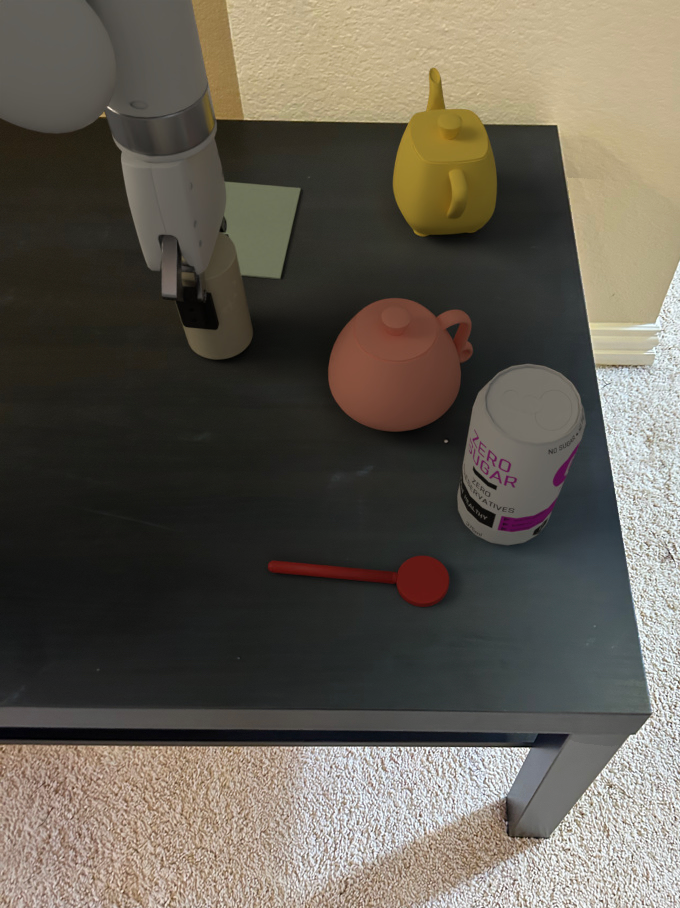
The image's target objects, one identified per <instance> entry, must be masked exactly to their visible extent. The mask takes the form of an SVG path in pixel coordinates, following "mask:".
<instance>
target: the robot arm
mask: <svg viewBox="0 0 680 908" xmlns="http://www.w3.org/2000/svg"><path fill="white" fill-rule="evenodd" d="M199 35H200V34H199V30H198V24H197V21H196V15H195V9H194V5H193V1H192V0H0V119H1V120H3V121H5V122H8V123H9V124H12V125H14V126H17V127H20V128H23V129H25V130H30V131H34V132H38V133H43V134H54V135H56V134H57V135H59V134H67V133H72V132H76V131H79V130H82V129H84V128H86V127H88V126H89V125H91V124H93V123H95V122H96V121H97V120H98V119H99V118H100V117H101V116H102V115H103V114H104V115H105V118H106V121H107V124H108V127H109V130H110V132H111V133H110V134H111V135H112V139H113V142H114V143H115V146H116V147H117V148H118V149H119V150H120V151H121V155H120V162H121V169H122V175H123V181H124V188H125V192H126V196H127V201H128V206H129V209H130V212H131V216H132V220H133V225H134V227H135V232H136V235H137V238H138V242H139V245H140V248H141V251H142V255H143V258H144V260H145V263H146V266H147V265H148V267H149V268H148V269H149V270H150V271H152V272H161V298H162V300H167V301H174V303H175V302H176V303H175V306H176V305H177V306H176V309H177V308H178V309H177V312H178V311H179V312H178V315H179V314H180V315H179V318H180V317H181V319H180V321H181V320H182V322H181V324H182V323H183V325H184V326H185V327H188V328H198V329H209V330H217V329H218V326H219V321H218V317H217V313H216V310H215V306H214V302H213V298H212V295H211V293H209V292H206V283H205V272H204V271H205V270H206V269H207V267H208V265H209V262H210V259H211V256H212V253H213V250H214V246H215V243H216V240H217V237H218V233H219V232H222V233H226V231H227V221H226V218H225V216H224V212H225V207H226V188H225V182H226V181H225V176H224V171H223V166H222V162H221V159H220V154H219V150H218V147H217V142H216V139H215V137H216V134H217V131H218V123H217V118H216V113H215V109H214V104H213V99H212V93H211V88H210V83H209V79H208V75H207V74H208V73H207V69H206V66H205V65H206V64H205V59H204V55H203V51H202V45H201V39H200V36H199ZM225 235H227V236H228V234H225ZM228 237H229V236H228ZM182 257H183V258H184V259H185V260H186V261H184V260H182ZM161 267H162V269H161ZM182 272H187V273H194V278H195V287H190V286H183V284H182ZM183 325H182V326H183Z"/></svg>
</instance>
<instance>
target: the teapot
mask: <svg viewBox="0 0 680 908" xmlns="http://www.w3.org/2000/svg"><path fill="white" fill-rule="evenodd" d="M428 84H429V85H428V86H429V89H428V100H427V104H426V109H425V110H424V111H419V112H416V113H414V114H413V115H412V116H411V118H410V119H409V121H408V123H407V126H406V128H405V130H404V131H403V134H402V137H401V139H400V141H399V142H400V143H399V145H398V149H397V152H396V157H395V161H394V167H393V175H392V190H393V195H394V198H395V202H396V204H397V207H398V209H399V210H400V213H401V215H402V216H403V218H404V220H405V221H406V223H407V224H408V225H409V227H410V228H411V229H412V230H413V232H414V234H415V235H417V236H419V237H429V236H430V235H431V236H435V235H437V236H438V235H440V236H441V235H442V236H443V235H457V234H464V233H465V234H466V233H468V234H472V233H476V232H477V231H478V230H480V229H482V228H483V227H484V226H485V225H486V224H487V223H488V222H489V221H490V220H491V218H492V216H493V214H494V213H495V208H496V203H497V194H498V179H497V178H498V177H497V168H496V167H497V165H496V161H495V156H494V151H493V148H492V144H491V141H490V138H489V135H488V133H487V129H486V127H485V125H484V123H483V121H482V119H481V118H480V117H479V116H478V114H476V113H475V112H474V111H473V110H471V109H468V108H467V109H466V108H446V104H445V98H444V92H443V83H442V76H441V74H440V71H439V70H438V68H436V67H431V68H430V69H429V71H428Z"/></svg>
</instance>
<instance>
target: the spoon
mask: <svg viewBox="0 0 680 908" xmlns="http://www.w3.org/2000/svg"><path fill="white" fill-rule="evenodd" d="M267 569H268V571H269V572H271V573H274V574H283V575H284V574H285V575H296V576H298V575H299V576H306V577H315V578H327V579H338V580H339V579H340V580H350V581H358V582H369V583H370V582H371V583H380V584H391V585H394V584H396V588H397V592H398V594H399V595H400V597H401V598H402V599H403V600H404V601H405V602H406V603H408V604H410V605H412V606H415V607H420V608H426V607H431V606H434V605H436V604H439V602H441V601H442V600H443V599H444V598H445V597H446V595H447V593H448V591H449V588H450V587H449V586H450V574H449V572H448V570H447V568H446V566H445V565H444V564H443V563H442V562H441V561H440V560H439V559H437V558H435V557H433V556H429V555H416V556H412V557H410V558H408V559H407V560H405V561H404V562H403V563H402V564H401V565H400V567H399V568H398V569H397V570H398V571H397V572H396V571H390V570H379V569H369V568H368V569H367V568H359V567H348V566H338V565H327V564H315V563H304V562H295V561H285V560H284V561H283V560H271V561H269V562H268V563H267Z"/></svg>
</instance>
